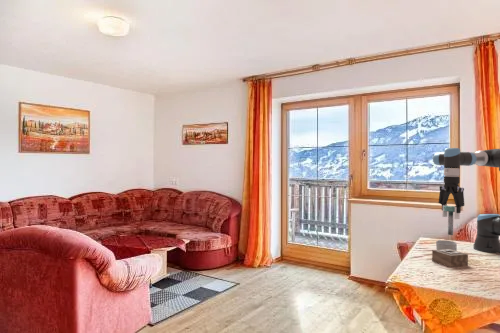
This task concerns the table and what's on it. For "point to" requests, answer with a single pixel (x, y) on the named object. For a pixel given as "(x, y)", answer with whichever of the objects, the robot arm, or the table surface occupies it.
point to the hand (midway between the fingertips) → (450, 217)
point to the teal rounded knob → (450, 218)
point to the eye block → (450, 257)
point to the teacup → (446, 245)
